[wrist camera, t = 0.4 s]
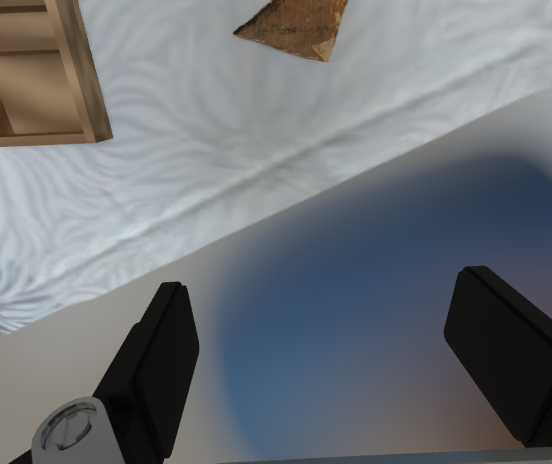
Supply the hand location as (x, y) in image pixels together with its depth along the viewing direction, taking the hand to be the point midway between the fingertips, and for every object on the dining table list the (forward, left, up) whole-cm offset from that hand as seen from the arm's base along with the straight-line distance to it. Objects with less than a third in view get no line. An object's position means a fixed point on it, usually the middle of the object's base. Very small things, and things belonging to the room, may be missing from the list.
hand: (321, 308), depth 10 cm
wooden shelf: (-12, -27, -30) cm, 43 cm away
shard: (-12, +2, -31) cm, 34 cm away
